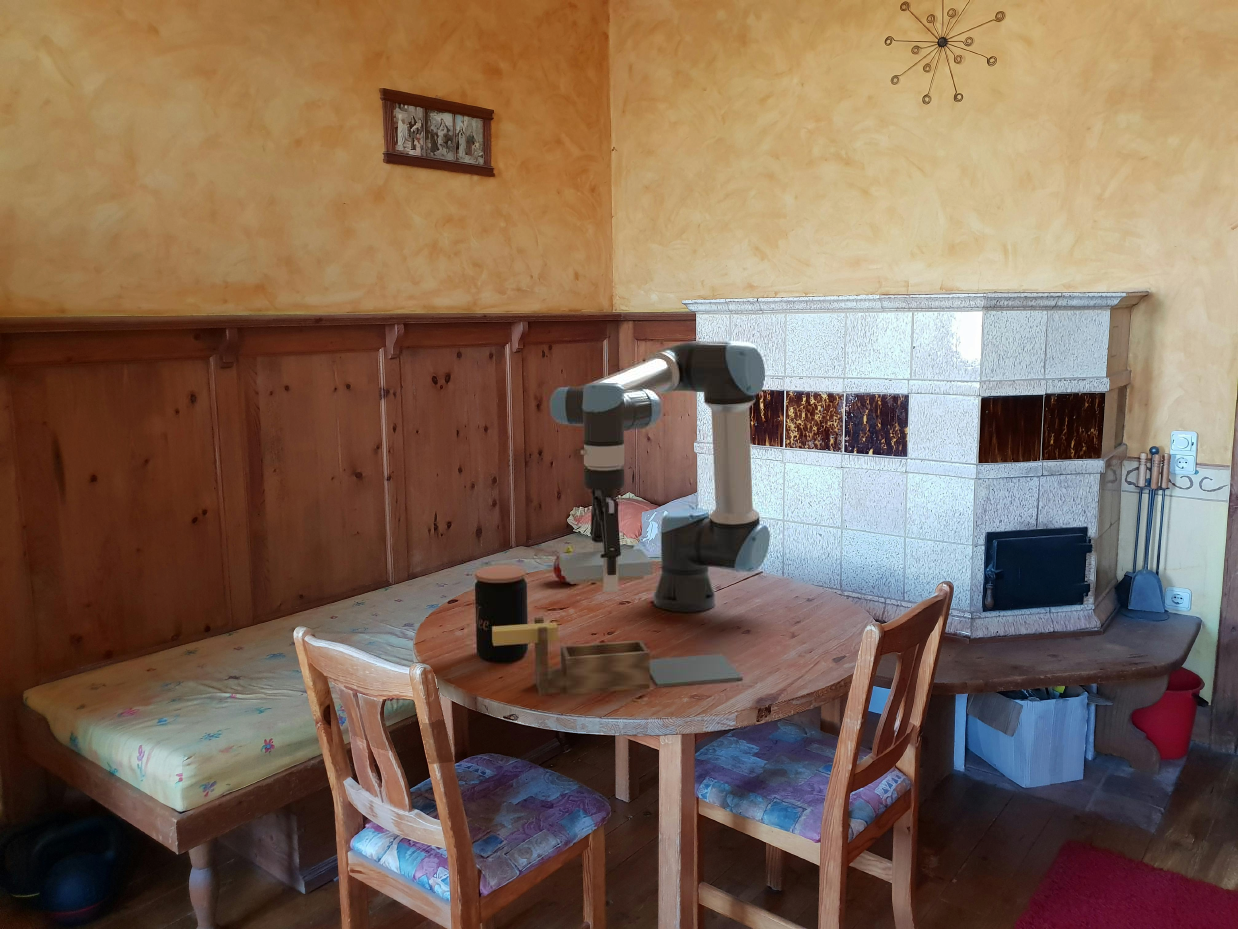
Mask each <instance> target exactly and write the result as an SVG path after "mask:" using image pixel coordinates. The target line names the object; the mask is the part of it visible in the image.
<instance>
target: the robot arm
mask: <svg viewBox="0 0 1238 929" xmlns="http://www.w3.org/2000/svg"><path fill="white" fill-rule="evenodd" d="M764 363H765V362H764V359H763V356H762V355H761V352H760V351H759V349H758V347H757V346H755V344H752V343H750V342H746V341H745V342H744V341H737V340H719V341H717V340H714V341H712V340H711V341H706V340H705V341H702V340H694V341H687V342H682V343H679V344H675V345H672V346H669V347H667V348H664V349H661V350H658V351H656V352H654V353H651V354H649V356H647V357H646V359H645V360H644V361H642V362H641V363H638V364H635V365H633V366H630V367H627V368H625V369H623V370H620V371H618V372H614V373H612V374H610V375H606V376H605V377H603V378H599V379H597V380H595V381H592V382H589V383H587V384H583V385H580V386H576V387H572V386H565V387H558V388H556V389H555V390H554V391H553V393H552V395H551V397H550V400H549V410H550V411H549V412H550V416H551V418H552V419H553V420H554V421H555V422H556V423H558V424H562V425H568V426H570V427H572V426H576V427H577V426H580V427H582V426H583V448H584V449H581V450H580V454H581V455H583V464H584V466H586V467H585V468H584V469H583V486H584V488H586V489H587V490H591V491H590V494H591V506H590V507H591V508H590V509H591V511H590V512H591V513H590V531H589V535H590V537H591V541H592V544H591V545H592V552H593V551H604V554H601V556H600V557H601V558H603V582H602V591H603V592H604V593H609V592H610V593H611V592H619V581H618V556H620V555H621V551H620V550H621V540H620V525H619V524H620V523H619V522H620V521H619V502H618V501H617V498H615V497H614V496H615V495H614V491H615V490H620V489H623V488H624V487H625V468H624V467H623V466H624V465H625V439H624V438H625V432H626V431H632V430H644V429H645V428H648V427H650V426H653V425H655V424H656V423H657V422H658V420H659V419H660V416H661V414H662V404H661V399H660V398H659V397H658V395H657V394H661V395H664V394H669V393H672V392H693V393H694V392H696V393H703V398H704V399H703V402H704V404H705V405H706V406H707V407H708V408H710V410H711V411H710V412H711V436H712V452H713V453H712V455H713V457H712V458H713V474H714V475H713V478H714V496H715V497H714V498H715V508H714V510H713V511H712V512H711V513H710V512H709V510H708V509H707V510H706V509H699V508H696V509H683V510H677V511H672V512H668V513H666V514H664V516H663V517H662V518H661V519H662V520H661V525H660V526H661V527H660V564H661V565H660V575H659V578H658V582H657V583H656V587H655V590H654V593H653V604H654V605H655V606H656V607H657V608H660V609H662V610H665V611H669V612H678V613H680V612H681V613H692V612H693V613H694V612H696V613H697V612H701V611H707V610H709V609H712V608H713V607H715V606H716V594H715V590H714V587H713V583H712V581H711V578H710V575H709V573H710V572H709V567H710V568H717V569H721V570H728V571H732V572H733V571H734V572H735V573H740V572H741V573H742V572H743V573H754V572H756V571H757V570H759V569H760V567H761V566H762V565H763V564H764V561H765V560H766V557H767V554H768V551H769V546H770V542H771V535H770V534H771V533H770V530H769V527H768V525H765V524H764V523H760V520H761V519H760V513H759V512H758V511H757V509H755V508H754V506H753V484H752V482H753V481H752V454H751V453H752V452H751V451H752V449H751V424H750V423H751V422H750V408H751V406H752V405H753V404H754V403H755V402H756V399H757V398H756V395H758V394H760V392H761V391H763V389H764V386H765V385H764V381H765V379H766V369H765V364H764Z"/></svg>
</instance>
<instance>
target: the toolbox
mask: <svg viewBox="0 0 1238 929" xmlns="http://www.w3.org/2000/svg"><path fill="white" fill-rule="evenodd" d="M544 620H545V619H544V617H534V621H533V622H534V623H533V624H538V623H545V622H544ZM548 646H549V644H548V633H547V627H538V643H534V660H535V661H534V665H535V666H534V667H535V670H534V672H535V674H534V676H535V685H536V688H537V692H538V696H539V697H540V698H543V697H549V694H560V693H565V695H579V694H590V693H591V694H592V693H602V692H603V693H604V692H615V691H626V690H627V691H628V690H638V689H649V688H651V676H650V659H651V651H650V650H649V649H648V648H647V646H646V644H645V642H643V640H642V639H641V640H626V641H612V642H611V641H610V642H599V643H597V642H596V643H585V644H571V645H561V646H560V667H559V668H549V650H548V649H549V648H548Z"/></svg>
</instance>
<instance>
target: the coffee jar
mask: <svg viewBox="0 0 1238 929" xmlns="http://www.w3.org/2000/svg"><path fill="white" fill-rule="evenodd" d="M527 574H528V573H527V570H526V569H525V568H524V567H522V566H519V565H518V566H517V565H508V564H507V565H506V564H505V565H504V564H503V565H502V564H498V565H490V566H485V567H481V568H478V569H477V570H476V571H475V572H474V577H475V579H476V582H475V583H474V600H475V602H474V604H475V605H474V606H475V637H476V638H475V641H476V642H475V643H476V644H475V645H476V653H477V655H478V656H479V658H480V659H481V660H482V661H483V662H488V663H492V664H506V663H507V664H510V663H514V662H517V661H519V660H522V659H523V658H524V657H525V655H526V654H527V652H528V650H529V643H526V644H512V645H498V646H493V641H492V627H493V626H508V625H523V624H529V623H528V582H527V581H526V579H525V578H526V576H527Z"/></svg>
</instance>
